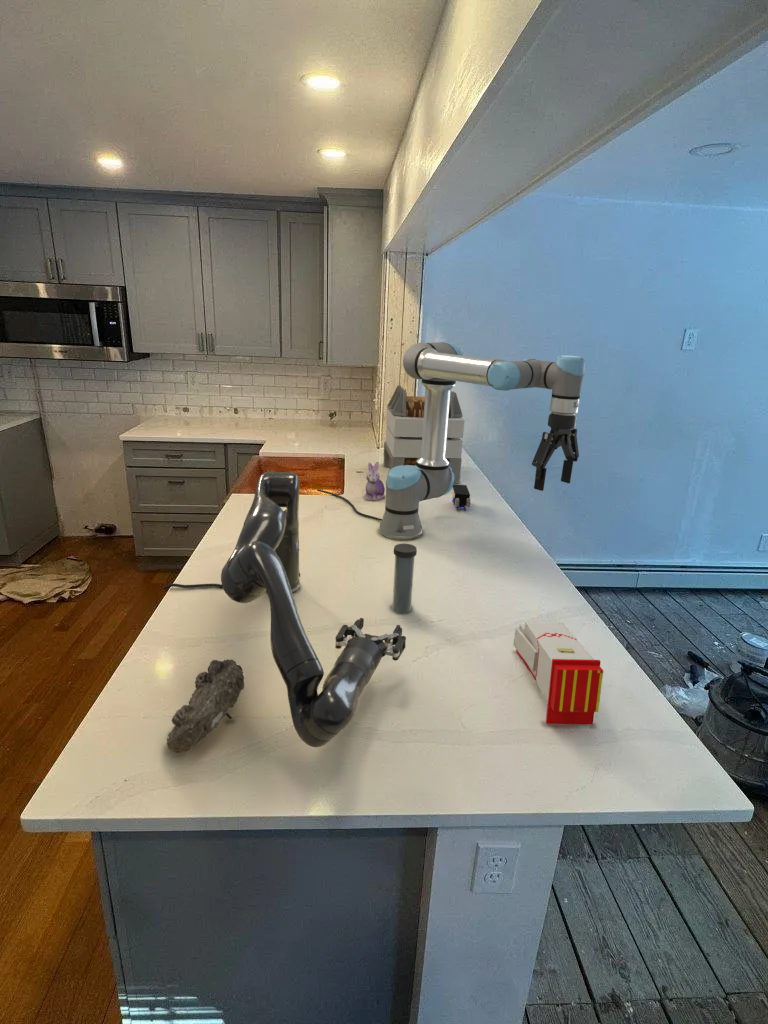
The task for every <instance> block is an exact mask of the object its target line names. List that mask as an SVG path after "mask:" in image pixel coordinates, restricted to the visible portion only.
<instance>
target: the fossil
mask: <svg viewBox="0 0 768 1024" xmlns="http://www.w3.org/2000/svg"><path fill="white" fill-rule="evenodd" d="M243 670H244V669H243V667H242V665H240V664H237V662H236V661H235V660H234V659H232V658H231V659H227V658H226V659H224V660H223V661H222V660H217V659H212V660H211V661H210V663H209V665H208V666H207V671H201V672H199V673H198V674H197V675H196V676H195V680H194V684H195V685H194V687H195V689H194V690H193V693H192V694H191V697H190V698H189V700H188V704H184V705H182V706H181V707H180V709H177V710H176V711H175V713H174V715H173V716H172V718H171V723H172V724H173V727H172V730H171V731H170V732H168V734H167V738H166V741H167V742H166V745H167V749H168V750H169V751H173V752H174V753H176V754H178V753H182V752H188V751H189V752H192V751H193V750H195V748H196V747H197V746H199V744H200V743H201V742H203V741H204V740H205V739H206V738H207V737H208V736H209V735H210V734H211V733H212V732H214V730H215V729H217V727H218V726H219V724H220V722H221V721H222V720H223V719H224V718H225V716H226V717H227V719H229V720H233V717H232V715H230V714H229V710H230V709H231V708H234V706H235V704H236V703H237V702H238V699H239V697H240V695H241V693H242V691H243V690H245V689H244V688H245V675H244V671H243Z"/></svg>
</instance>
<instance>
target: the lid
mask: <svg viewBox="0 0 768 1024" xmlns="http://www.w3.org/2000/svg"><path fill="white" fill-rule="evenodd" d="M417 551H418V550H417V546H415V545H413V544H411V543H397V544H395V545H393V555H394V556H395V555H396V556H397V557H400V558H412V557H416V556H417V554H418V553H417Z"/></svg>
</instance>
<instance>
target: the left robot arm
mask: <svg viewBox="0 0 768 1024" xmlns="http://www.w3.org/2000/svg"><path fill="white" fill-rule="evenodd" d="M255 487H256V488H255V492H254V497H253V500H252V503H251V506H250V508H249V510H248V512H247V514H246V516H245V519H244V522H243V525H242V528H241V531H240V533H239V536H238V538H237V541H236V544H235V548H234V550H233V551H232V553H231V555H230V557H229V558H228V560H227V561H226V562H225V564H224V566H223V567H222V569H221V573H220V582H221V583H201V584H200V583H198V584H196V583H195V584H181V583H169V584H166V585H165V586H164V587H163V590H168V589H169V588H173V587H175V588H181V589H182V588H183V589H194V588H212V587H213V588H222V589H223V591H224V593H225V594H226V595H227V597H228V598H230V599H231V600H232V601H234V602H236V603H238V604H250V603H253V602H254V601H256V600H257V599H259V598H260V597H262V596H263V595H264V594H265V593H267V596H268V597H267V598H268V601H269V607H270V609H269V610H270V639H269V640H270V648H271V649H270V650H271V655H272V657H273V660H274V662H275V665H276V667H277V669H278V671H279V674H280V677H281V678H282V680H283V682H284V684H285V686H286V692H287V699H288V704H289V710H290V715H291V720H292V724H293V727H294V730H295V732H296V734H297V735H298V737H299V738H300V740H301V741H302V742H303V743H304V744H306V745H307V746H309V747H312V748H320V747H323V746H325V745H326V744H328V743H329V742H331V740H332V739H334V738H335V737H337V735H338V734H340V733H341V732H342V731H344V730H345V729H346V728H347V727H348V726H349V724H350V723H351V722H352V720H353V719H354V717H355V715H356V712H357V708H358V704H359V698H360V696H361V695H362V693H363V691H364V689H365V687H366V686H367V685H368V684H369V683H370V681H371V679H372V677H373V675H374V673H375V671H376V670H377V668H378V666H379V664H380V662H381V660H382V658H384V657H385V656H389V657H392V660H393V661H398V660H399V659H400V657H401V656H402V654H403V653H404V651H405V649H406V646H407V645H406V640H407V637H406V635H403V627H401V625H400V624H397V625H396V626H395V628H394V630H393V632H392V633H390V634H387V633H385V634H381V635H372V634H369V633H363V632H362V629H363V628H364V625H365V624H364V622H365V619H364V618H363V617H360V618H359V619H356V620H355V621H354V623H353V624H352V625H350V626H349V625H348V624H342V626H341V627H340V629H339V631H338V633H337V634H336V636H335V647H334V648H335V649H337V650H340V649H341V648H342V647H344V648H343V649H342V651H341V652H340V654H339V655H338V656H337V658H336V660H335V662H334V665H333V667H332V668H331V670H330V672H329V673H328V674H327V676H326V678H325V679H324V681H323V683H322V688H321V691H320V693H318V689H319V686H320V684H321V682H322V680H323V678H324V675H325V671H324V668H323V666H322V662H321V661H320V660H319V659H320V658H319V657H318V656H317V653H316V652H315V650H314V647H313V646H312V643H311V641H310V639H309V637H308V635H307V633H306V631H305V628H304V626H303V623H302V620H301V618H300V614H299V611H298V608H297V604H296V600H295V597H294V594H293V593H295V592H297V591H298V590H299V589H300V586H301V585H300V583H301V582H300V578H301V573H300V523H299V520H300V519H299V506H300V503H299V502H300V488H301V487H300V478H299V476H298V474H297V473H296V472H292V471H291V472H290V471H289V472H288V471H287V472H286V471H266V472H263V473H261V475H260V476H259V478H258V480H257V483H256V486H255ZM283 508H286V509H285V510H283ZM348 636H350V637H351V638H349V639H348V640H347V638H348Z"/></svg>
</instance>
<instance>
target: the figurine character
mask: <svg viewBox="0 0 768 1024" xmlns="http://www.w3.org/2000/svg"><path fill="white" fill-rule="evenodd" d="M452 489H453V493H452V500H451V502H452V504H453V506H454V507H455V508H456V510H457V511H459V510H460V509H463V511H465V512H466V511H467V508H466V507H468V508H470V507H471V493H470V491H469V488H468V486H467V485H466V484H458V483H454V484H453V487H452Z"/></svg>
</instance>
